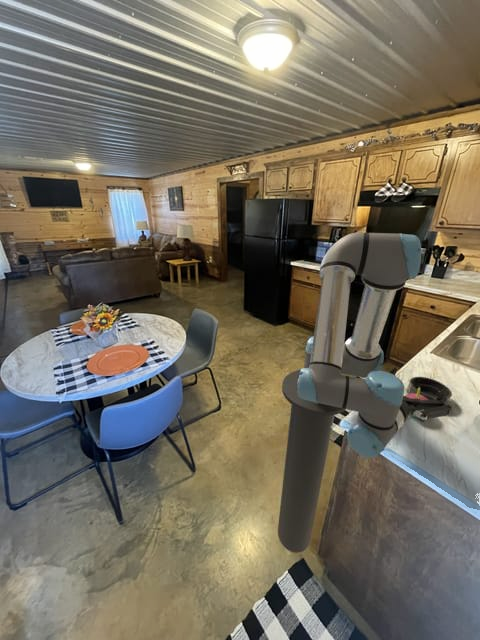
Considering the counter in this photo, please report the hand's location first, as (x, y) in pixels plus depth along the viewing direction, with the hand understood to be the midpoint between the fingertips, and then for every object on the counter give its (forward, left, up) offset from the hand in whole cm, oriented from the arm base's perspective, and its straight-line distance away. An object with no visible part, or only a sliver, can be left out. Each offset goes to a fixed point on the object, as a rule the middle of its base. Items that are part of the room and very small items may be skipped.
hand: (418, 381), depth 81 cm
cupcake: (0, +10, -19) cm, 21 cm away
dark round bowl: (0, +23, -19) cm, 30 cm away
